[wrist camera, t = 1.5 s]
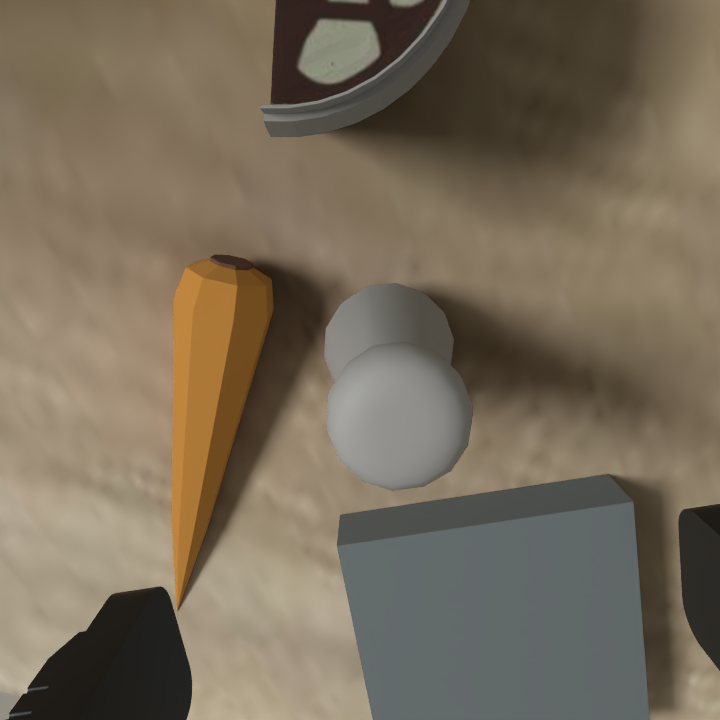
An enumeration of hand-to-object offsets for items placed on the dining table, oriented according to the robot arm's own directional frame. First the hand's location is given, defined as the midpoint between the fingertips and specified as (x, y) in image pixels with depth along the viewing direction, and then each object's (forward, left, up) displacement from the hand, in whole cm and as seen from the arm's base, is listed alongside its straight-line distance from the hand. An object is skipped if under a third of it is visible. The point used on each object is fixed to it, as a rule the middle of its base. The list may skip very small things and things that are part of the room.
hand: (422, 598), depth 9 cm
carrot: (+10, +4, -21) cm, 24 cm away
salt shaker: (0, 0, -21) cm, 21 cm away
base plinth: (-3, +16, -20) cm, 26 cm away
